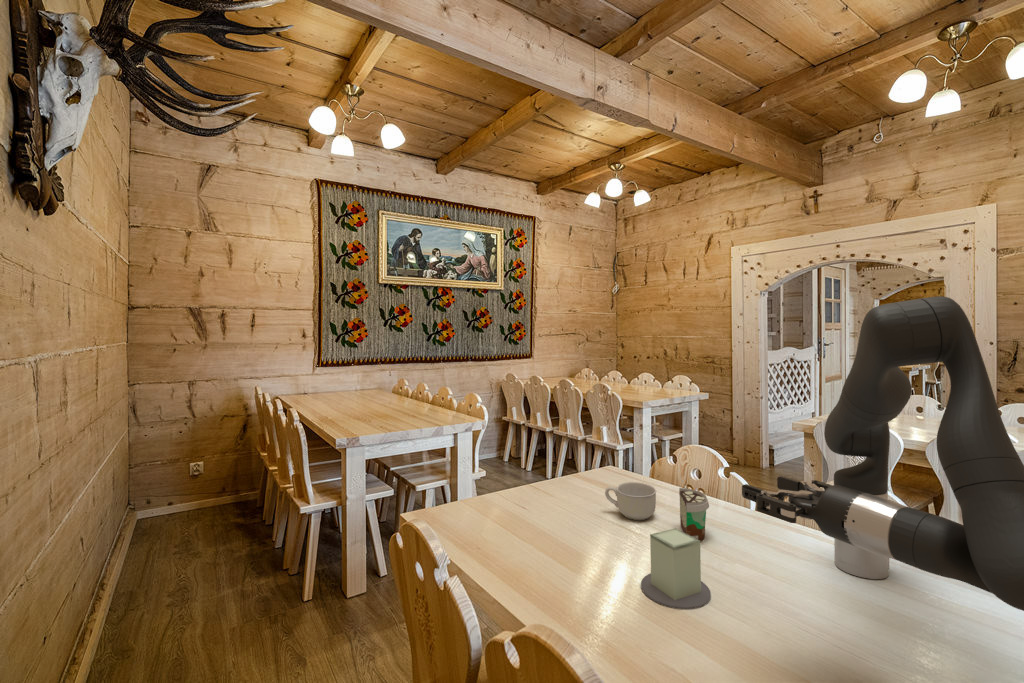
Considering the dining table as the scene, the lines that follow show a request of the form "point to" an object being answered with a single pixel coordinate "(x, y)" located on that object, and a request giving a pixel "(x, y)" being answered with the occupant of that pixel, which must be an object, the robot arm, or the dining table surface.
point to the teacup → (634, 499)
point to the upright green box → (675, 563)
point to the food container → (693, 512)
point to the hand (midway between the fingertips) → (761, 486)
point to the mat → (682, 603)
